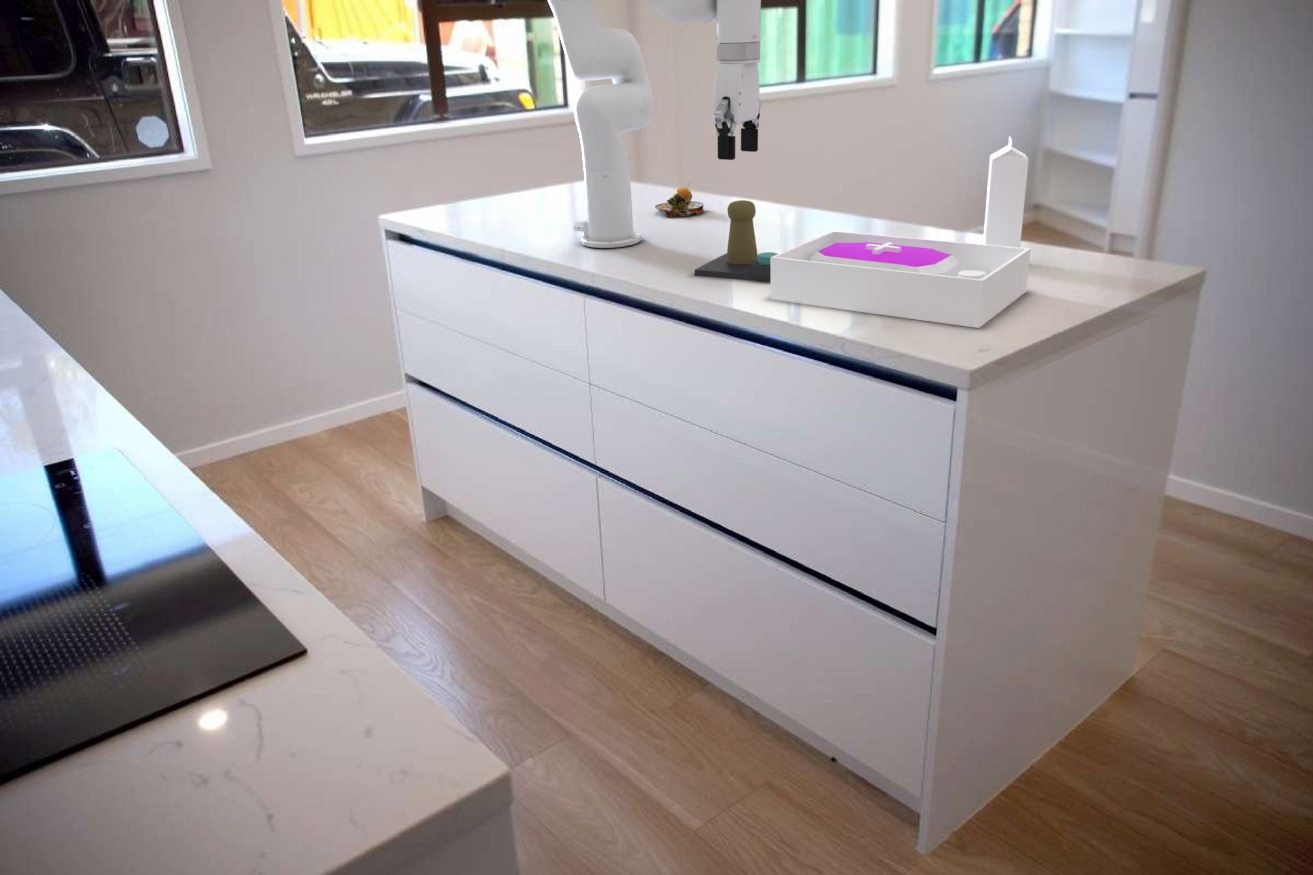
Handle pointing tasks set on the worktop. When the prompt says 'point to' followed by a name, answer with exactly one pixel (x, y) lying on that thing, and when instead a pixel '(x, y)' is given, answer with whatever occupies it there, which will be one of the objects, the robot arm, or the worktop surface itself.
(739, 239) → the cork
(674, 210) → the multicoloured piece
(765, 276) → the scale
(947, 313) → the white tray with pad
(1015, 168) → the milk
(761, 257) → the button
